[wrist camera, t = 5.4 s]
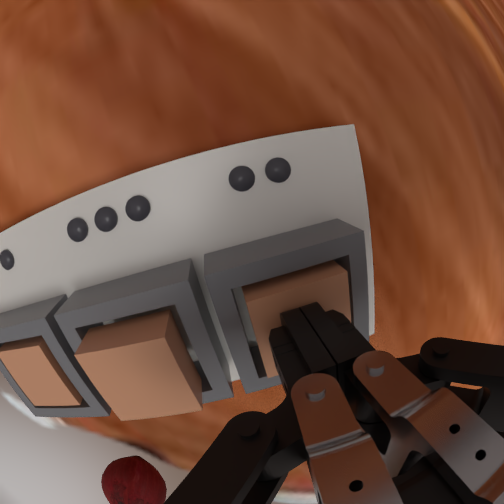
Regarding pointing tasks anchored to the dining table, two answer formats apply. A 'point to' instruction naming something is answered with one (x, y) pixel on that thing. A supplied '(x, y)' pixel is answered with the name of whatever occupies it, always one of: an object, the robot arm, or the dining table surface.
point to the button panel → (189, 254)
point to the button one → (39, 372)
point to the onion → (133, 482)
